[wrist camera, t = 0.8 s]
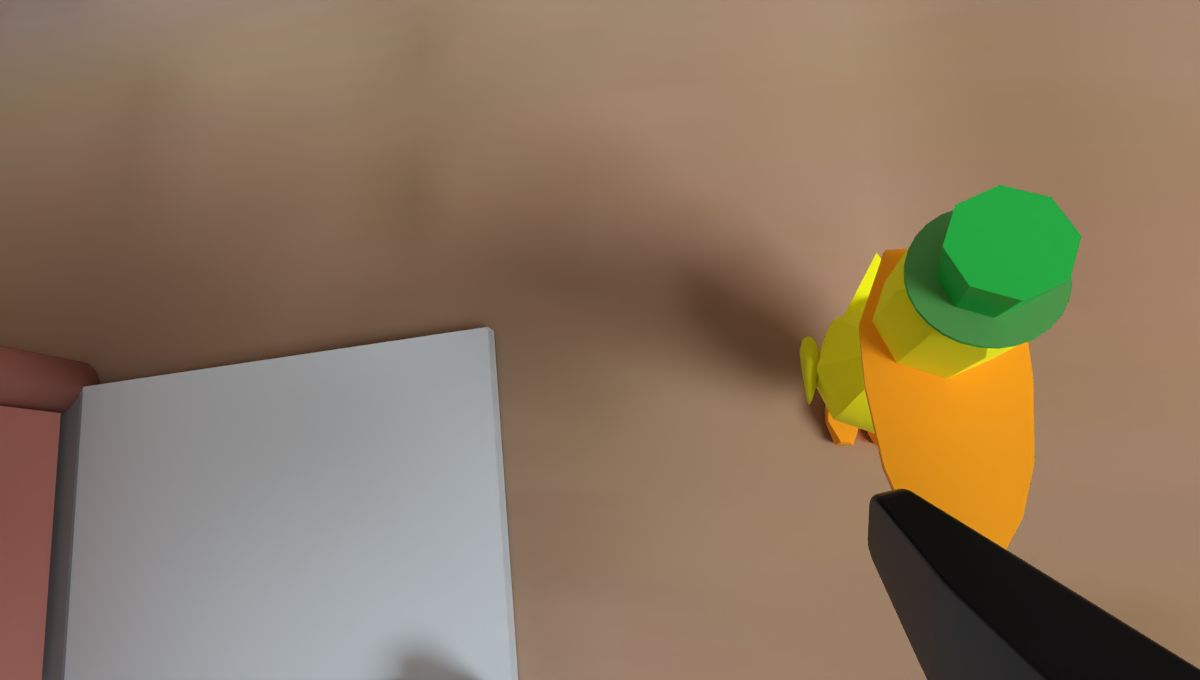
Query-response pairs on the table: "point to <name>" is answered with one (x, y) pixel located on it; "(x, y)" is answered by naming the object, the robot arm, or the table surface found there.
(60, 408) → the fence fixed panel
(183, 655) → the card
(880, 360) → the toy figure
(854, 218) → the table surface
